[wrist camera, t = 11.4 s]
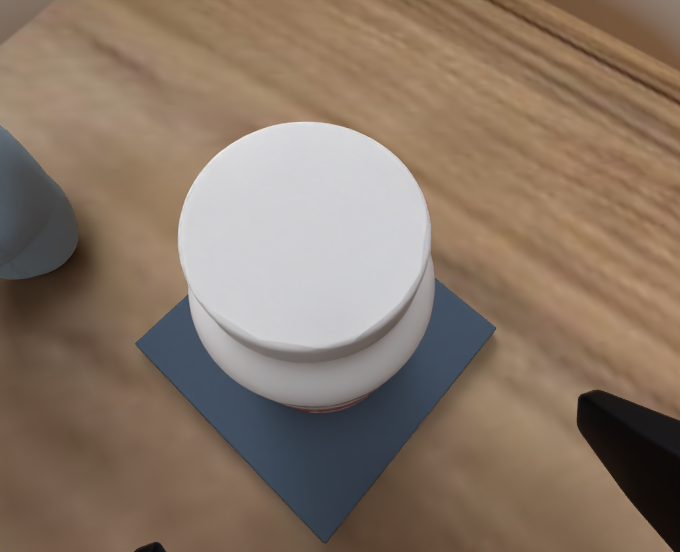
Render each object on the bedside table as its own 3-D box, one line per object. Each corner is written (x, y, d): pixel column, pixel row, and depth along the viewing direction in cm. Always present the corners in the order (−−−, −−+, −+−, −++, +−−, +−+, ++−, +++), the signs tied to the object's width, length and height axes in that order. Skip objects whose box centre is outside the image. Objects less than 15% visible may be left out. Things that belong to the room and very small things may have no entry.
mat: (492, 330, 19) (497, 327, 18) (325, 540, 16) (324, 544, 16) (313, 185, 21) (313, 178, 21) (140, 345, 18) (133, 343, 18)
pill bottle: (296, 246, 19) (259, 42, 9) (417, 312, 19) (528, 167, 8) (218, 366, 18) (58, 279, 7) (348, 444, 17) (377, 476, 6)
